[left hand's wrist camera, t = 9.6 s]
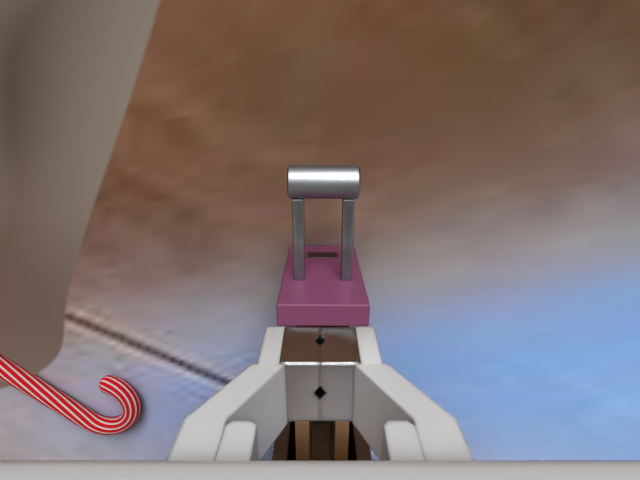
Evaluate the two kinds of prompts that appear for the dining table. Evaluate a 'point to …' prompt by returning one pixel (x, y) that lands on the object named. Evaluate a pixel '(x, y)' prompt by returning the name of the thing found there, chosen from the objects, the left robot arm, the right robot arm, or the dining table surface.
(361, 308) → the drawer
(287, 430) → the cabinet
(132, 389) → the candy cane
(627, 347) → the dining table surface
